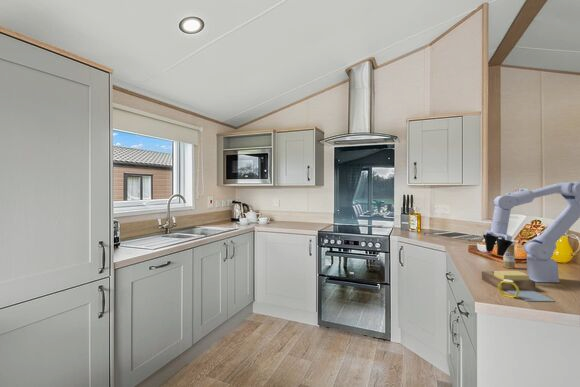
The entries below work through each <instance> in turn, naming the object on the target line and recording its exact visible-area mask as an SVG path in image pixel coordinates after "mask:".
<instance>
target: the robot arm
mask: <svg viewBox="0 0 580 387" xmlns="http://www.w3.org/2000/svg"><path fill="white" fill-rule="evenodd" d="M553 194H558V195H561V196H562V198H563V199H564V200H565V202H566V205H567V206H566V207H565V208H564V209H563V210H562V212H560V214H558V215H557V217H556V218H555V219H554V220H553V221H552V222H551V223H550V224H549V226H547V228H545V230H543V231H542V233H541V234H539V235H537V236H535V237H533V238H532V239H531V240H529V241H527V242H525V243H524V245H523V250H524V253H526V274H527V275H529V279H531V280H533V281H535V283H561V281H560V280H559V264H558V263H557V261H556V260H555V259H553V258H552V257H553V256H554V252H555V250H556V249H557V244H556V243H557V242H558V241H559V240H560V239H561V238H562V237H563V236H564V234H566V233H567V231H569V229H570V228H571V227H572V226H574V224H575V223H576V222H577V221H578V220H579V218H580V180H579V181H564V182H557V183H554V184H550V185H546V186H543V187H540V188H537V189H536V188H535V189H534V190H529V189H526V188H525V189H524V188H519V189H518V191H515V192H507V193H506V194H505V195H498V196H496V197H495V198H494V200H493V201H492V204H493V206H494V208H493V209H494V210H493V214H492V219H491V227H490V229H485V233H484V234H482V237H483V239H484V241H485V242H484V243H485V249H486V251H487V252H491V253H492V252H493V250H494V248H495V244H496V245H497V247H496V248H497V249H496V255H497V256H500V257H503V256H504V254H505V252H506V250H507V249H508V247H509V246H510V245H511V244H512V243H513V242H512V241H511V240H513V236H511V235H509V234H507V233H508V228H509V227H508V226H509V222H510V218H511V210H512V209H513V208H514V207H518V206H521V205H526V204H530V203H532V202H533V201H534V200H535V199H537V198H541V197H545V196H549V195H553Z"/></svg>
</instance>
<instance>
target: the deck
mask: <svg viewBox="0 0 580 387" xmlns="http://www.w3.org/2000/svg"><path fill="white" fill-rule="evenodd" d="M494 271H495V270H494ZM494 271H488V270H487V271H481V281H484V282H486V283H487V284H490V285H491V286H493V287H494V288H497V289H498V284H499V283H500V282H502V281H504V280H502V279H500V278H498V277H496V276H494ZM513 283H515V284H516V285H517V286H518V288H519V290H533V291H535V292H537V291H536V282H535V281H533V280H531V279H529V281H513ZM500 289H501V291H506V290H517V289H516V288H515V286H514V285H512V284H509V283H505V282H503V283H502V284H501V285H500Z"/></svg>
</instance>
